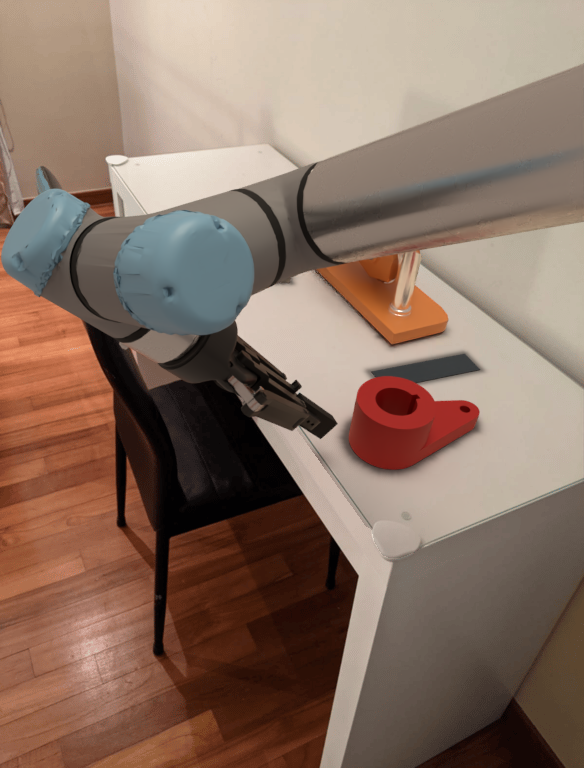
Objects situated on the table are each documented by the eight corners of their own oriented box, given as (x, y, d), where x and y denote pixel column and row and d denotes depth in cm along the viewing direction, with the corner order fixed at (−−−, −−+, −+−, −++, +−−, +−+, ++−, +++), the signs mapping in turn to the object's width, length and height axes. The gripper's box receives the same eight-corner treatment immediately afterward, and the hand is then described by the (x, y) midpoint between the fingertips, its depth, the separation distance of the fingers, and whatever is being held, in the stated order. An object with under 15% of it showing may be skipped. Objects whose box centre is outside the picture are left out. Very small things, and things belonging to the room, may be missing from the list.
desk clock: (388, 347, 92) (417, 222, 79) (297, 256, 112) (308, 144, 99) (452, 332, 97) (489, 211, 84) (353, 247, 117) (371, 139, 104)
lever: (371, 477, 71) (381, 437, 67) (335, 424, 78) (343, 384, 73) (494, 442, 78) (510, 403, 73) (452, 396, 84) (464, 358, 80)
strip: (480, 369, 89) (480, 369, 89) (384, 389, 84) (384, 388, 84) (464, 354, 92) (464, 353, 92) (371, 371, 87) (371, 371, 87)
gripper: (137, 318, 59) (282, 412, 76) (168, 403, 50) (326, 489, 67) (189, 263, 58) (326, 371, 74) (231, 341, 49) (377, 445, 65)
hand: (326, 427), depth 70 cm, fingers closed
